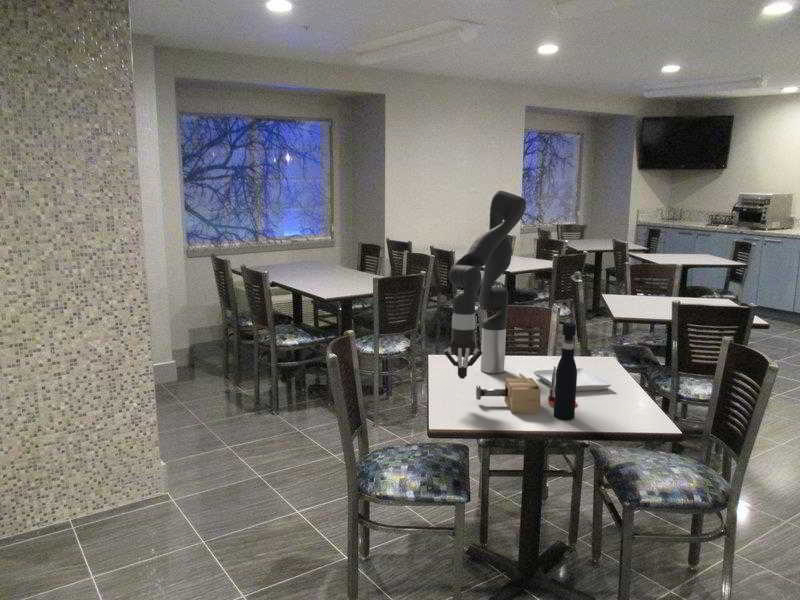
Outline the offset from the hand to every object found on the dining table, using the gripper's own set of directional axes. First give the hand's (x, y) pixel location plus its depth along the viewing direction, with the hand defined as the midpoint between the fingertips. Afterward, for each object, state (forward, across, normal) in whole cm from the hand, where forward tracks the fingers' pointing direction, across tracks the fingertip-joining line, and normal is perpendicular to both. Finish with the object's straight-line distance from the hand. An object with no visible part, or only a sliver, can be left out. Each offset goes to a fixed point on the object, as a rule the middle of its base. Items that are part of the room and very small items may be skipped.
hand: (462, 377), depth 210 cm
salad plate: (+10, -43, -22) cm, 49 cm away
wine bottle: (+10, -31, +11) cm, 34 cm away
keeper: (-1, -20, +6) cm, 21 cm away
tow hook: (+10, -34, -1) cm, 36 cm away
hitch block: (+9, -20, +2) cm, 22 cm away
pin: (+8, -12, 0) cm, 14 cm away
